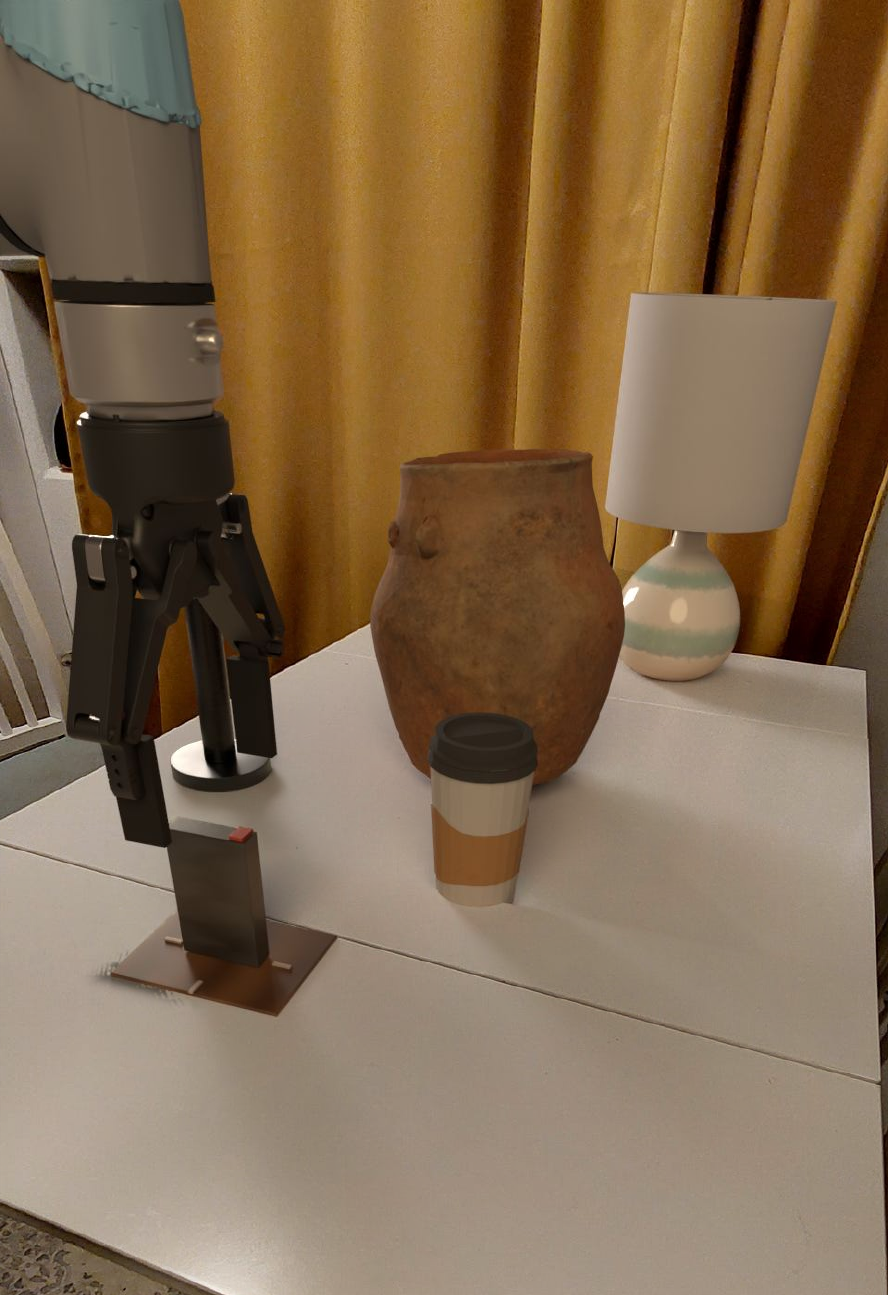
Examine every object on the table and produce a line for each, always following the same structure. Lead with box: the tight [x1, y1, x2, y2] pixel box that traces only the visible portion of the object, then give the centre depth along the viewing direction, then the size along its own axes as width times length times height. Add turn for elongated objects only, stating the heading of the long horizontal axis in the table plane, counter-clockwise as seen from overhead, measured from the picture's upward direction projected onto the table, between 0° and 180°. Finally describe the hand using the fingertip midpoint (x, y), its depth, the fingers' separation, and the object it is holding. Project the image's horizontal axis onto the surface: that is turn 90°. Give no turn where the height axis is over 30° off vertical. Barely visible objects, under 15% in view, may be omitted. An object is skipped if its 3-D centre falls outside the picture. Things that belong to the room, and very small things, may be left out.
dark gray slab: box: [166, 816, 270, 968], centre depth 65 cm, size 6×2×10 cm, turn 71°
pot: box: [369, 448, 625, 786], centre depth 89 cm, size 24×24×30 cm
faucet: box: [169, 598, 272, 793], centre depth 92 cm, size 10×10×18 cm
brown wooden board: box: [109, 909, 338, 1018], centre depth 69 cm, size 13×10×2 cm
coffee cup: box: [428, 712, 538, 908], centre depth 74 cm, size 8×8×15 cm
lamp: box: [604, 292, 838, 682], centre depth 113 cm, size 22×22×40 cm
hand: (207, 794), depth 60 cm, fingers open, 13 cm apart
